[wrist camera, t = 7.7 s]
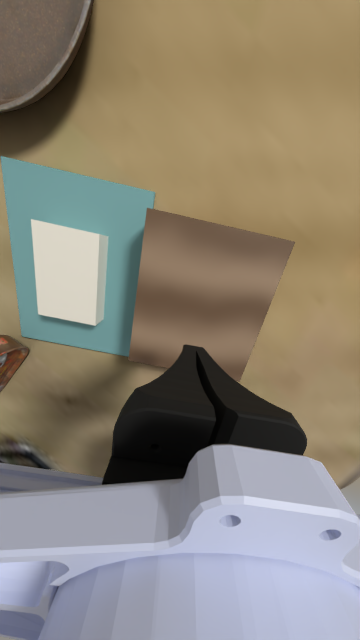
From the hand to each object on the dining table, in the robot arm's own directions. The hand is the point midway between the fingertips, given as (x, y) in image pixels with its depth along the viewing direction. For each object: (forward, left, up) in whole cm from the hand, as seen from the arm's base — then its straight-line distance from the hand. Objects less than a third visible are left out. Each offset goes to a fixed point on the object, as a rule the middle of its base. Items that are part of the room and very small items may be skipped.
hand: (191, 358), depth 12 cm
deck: (+2, -1, -9) cm, 10 cm away
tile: (+2, +13, -7) cm, 15 cm away
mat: (+2, +13, -9) cm, 16 cm away
